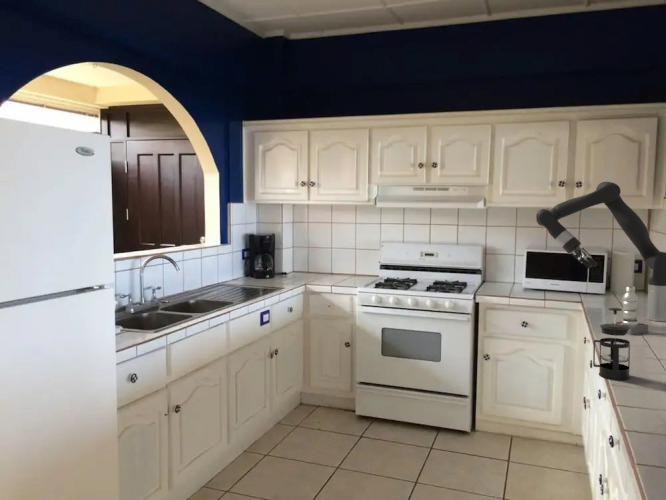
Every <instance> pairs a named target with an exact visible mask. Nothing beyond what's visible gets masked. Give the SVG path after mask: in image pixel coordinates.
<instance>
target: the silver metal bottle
mask: <svg viewBox="0 0 666 500" xmlns="http://www.w3.org/2000/svg"><path fill="white" fill-rule="evenodd" d="M621 302H622V312H623V314H622V324H624V325H626V326H638V323H639V322H638V313H637V311H638V304H639V297H638V295H637V293H636V287H635V286H625V292H624V294H623V295H622V297H621Z"/></svg>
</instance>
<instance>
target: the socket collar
mask: <svg viewBox="0 0 666 500" xmlns="http://www.w3.org/2000/svg"><path fill="white" fill-rule="evenodd" d="M622 321H623V320H622ZM622 321H616V324H620V325H624V324H622ZM611 324H614V321H613V322H612V323H611ZM629 327H630V329H629V330H628V332H627V333H626V335H630V336H631V335H640V334H646V333H647V334H648V331H649V325H648V324H646V323H643V322H638V326H629Z"/></svg>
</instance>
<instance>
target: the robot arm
mask: <svg viewBox="0 0 666 500" xmlns="http://www.w3.org/2000/svg"><path fill="white" fill-rule="evenodd" d="M600 204H604V205H605V207H606V208H607V209H609V210H610V213H611V214H612V216H613V217H614V219H615V221H616V222H617V223H618V225H619V227H620V228H621V230H622V232H624V234H625V235H626V236H627V237H628V239H629V240H630V242H632V244H633V245H634V246H635V248H636V249H637V251H638V252H639V254H640V256H641V257H642V259H643V261H644V263H645V264H646V265H647V267H648V268H649V269H652V273H651V274H652V275H651V277H649V278H648V281H647V284H648V287H647V320H649V321H653V322H666V252H665V251H660V250H659V249H658V248H657V247H656V246H655V244H654V243H653V242H652V240H651V238H650V234H649V230H648V228H647V226H646V224H645V223H644V221H643V220H642V219H641V218H640V216H639V214H637V213H636V212H635V211H634V210H633V209H632V208H631V207H630V206H629V205H627V203H626V202H625V201H624V200H623V198H622V197H621V188H620V186H619V185H618V184H617V183H615V182H612V181H601V182H600V183H598V184H597V186H596V190H594V191H592V192H590V193H587V194H584V195H581V196H577V197H574V198H570V199H567V200H565V201H563V202H559V203H557V204H556V205H554V206H553V207H552V208H551V209H549V210H548V209H547V208H542V209H541V208H540V209H539V210H538V211H537V213H536V216H535V217H536V223H537V224H538V225H539V226H541V227H544V228H546V230H547V232H548V234H549V235H550V236H551V237H552V238H553V239H554V240H555V241H556V242H557V244H558V245H559V246H560V247H562V248H563V250H564V251H565V252H566V253H567V254H569V255H570V254H571V256H573V257H574V259H575V260H577V262H578V263H581V264H583V266H585V267H586V268H587V269H591V268H592V267H593V268H595V267H596V266H598V263H597V262H596V261H595V260H594V259H593V256H592V255H591V254H590V253H589V252H588V251H587V250H586V249H585V248H584V247H582V248H581V245H582V243H581V241H580V240H579V239H578V238H577V237H576V236H575V235H574V234H573V233H571V231H569V230H568V229H567V228H565V226H564V225H562V224H561V223H560V222H559V220H560V219H563V218H566V217H568V216H572V215H573V214H575V213H578V212H580V211H583V210H586V209H588V208H590V207H593V206H597V205H600Z"/></svg>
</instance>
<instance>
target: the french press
mask: <svg viewBox="0 0 666 500" xmlns="http://www.w3.org/2000/svg"><path fill="white" fill-rule="evenodd" d="M607 310H608V311H613V316H614V320H613V322H614V324H612V323H602V324H600V325H599V326H600V328H601V329H600V332H601V333H602V334H603V335H606V336H607V335H609V336H613V337H603V338H600V339H594V340H593V346H592V347H593V349H592V350H593V352H592V353H593V355H592V356H593V357H592V362H593V363H592V365H593V367H595V368H599V372H598V376H599V377H601V378H603V379H606V380H610V381H627V380H630V379H631V376H630V365H631V364H630V358H631V357H630V356H631V355H630V354H631V352H630V351H631V342H630V340H627V339H625V338H618V336H620V337H621V336H626V335H627V334H626V333H627V332H628V330H629V329H630V327H629V326H626V325H620V324H616V322H617V321H616V320H617V316H616V315H617V314H618V312H619V311H620V312H623V308H620V307H610V308H607ZM616 336H617V337H616ZM596 343H599V364H596V363H595V360H596V357H595V356H596V355H595V354H596ZM602 347H606V348H610V353H606V354H602V351H601V350H602ZM620 349H627V350H628V351H627V352H628V355H627V356H625V355H622V354H620ZM601 354H602V355H601ZM601 360H603V361H606V362H602V361H601ZM626 362H627V364H628V365H626V364H622V363H626Z"/></svg>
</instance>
